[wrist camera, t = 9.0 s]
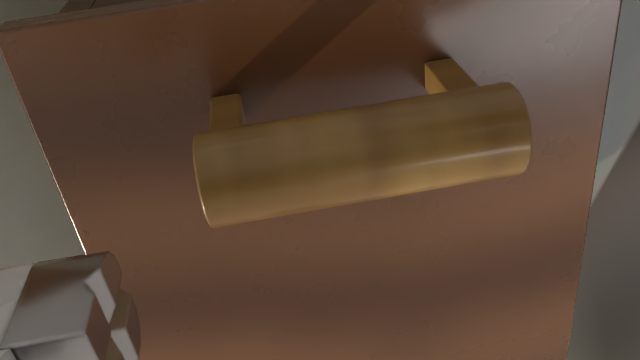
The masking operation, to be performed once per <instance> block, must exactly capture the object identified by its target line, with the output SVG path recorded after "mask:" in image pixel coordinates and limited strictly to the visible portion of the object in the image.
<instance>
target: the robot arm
mask: <svg viewBox="0 0 640 360" xmlns="http://www.w3.org/2000/svg"><path fill="white" fill-rule="evenodd" d="M121 277H122V270H121V268H120V266H119V264H118V261H117V259H116V257H115V255H114V254H112V253H111V252H109V251H105V252H98V253H92V254H86V255H79V256H73V257H67V258H61V259H54V260H48V261H42V262H38V263H30V264H25V265H19V266H13V267H7V268H2V269H0V360H139V355H140V347H141V335H140V322H139V317H138V313H137V309H136V306H135V303H134V301H133V298H132V295H130V294H129V293H127V292H125V291H124V290H122V289H120V283H121Z"/></svg>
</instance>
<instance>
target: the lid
mask: <svg viewBox="0 0 640 360" xmlns="http://www.w3.org/2000/svg"><path fill="white" fill-rule="evenodd" d="M621 4H622V0H144V1H138V2H131V3H125V4H118V5H112V6H105V7H99V8H92V9H86V10H79V11H73V12H66V13H60V14H53V15H47V16H40V17H34V18H27V19H21V20H14V21H8V22H4V23H3V24H2V25H1V26H0V52H1V54H2V57H3V59H4V62H5V64H6V66H7V69H8V71H9V73H10V76H11V78H12V81H13V83H14V85H15V88H16V90H17V92H18V95H19V97H20V100H21V102H22V104H23V107H24V109H25V112H26V114H27V116H28V119H29V121H30V123H31V126H32V128H33V131H34V133H35V135H36V138H37V140H38V143H39V145H40V147H41V150H42V152H43V154H44V157H45V159H46V162H47V164H48V166H49V169H50V171H51V174H52V176H53V178H54V181H55V183H56V185H57V188H58V190H59V193H60V195H61V197H62V200H63V202H64V205H65V207H66V209H67V212H68V214H69V216H70V219H71V221H72V224H73V226H74V228H75V231H76V233H77V235H78V238H79V240H80V243H81V245H82V247H83V250H84V252H85V255H86V254H92V253H98V252H105V251H109V252H111V253H112V254H114V255H115V257H116V259H117V261H118V264H119V266H120V268H121V270H122V277H121V283H120V289H122V290H124V291H125V292H127V293H129V294H130V295H132V298H133V301H134V303H135V306H136V309H137V313H138V317H139V322H140V335H141V347H140V355H139V360H566V359H567V353H568V346H569V340H570V333H571V327H572V320H573V314H574V308H575V301H576V295H577V288H578V282H579V275H580V269H581V262H582V256H583V249H584V243H585V236H586V230H587V224H588V217H589V211H590V204H591V198H592V191H593V185H594V178H595V172H596V165H597V159H598V152H599V146H600V139H601V133H602V127H603V120H604V114H605V107H606V101H607V94H608V88H609V81H610V75H611V68H612V62H613V55H614V49H615V43H616V36H617V30H618V23H619V17H620V10H621Z"/></svg>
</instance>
